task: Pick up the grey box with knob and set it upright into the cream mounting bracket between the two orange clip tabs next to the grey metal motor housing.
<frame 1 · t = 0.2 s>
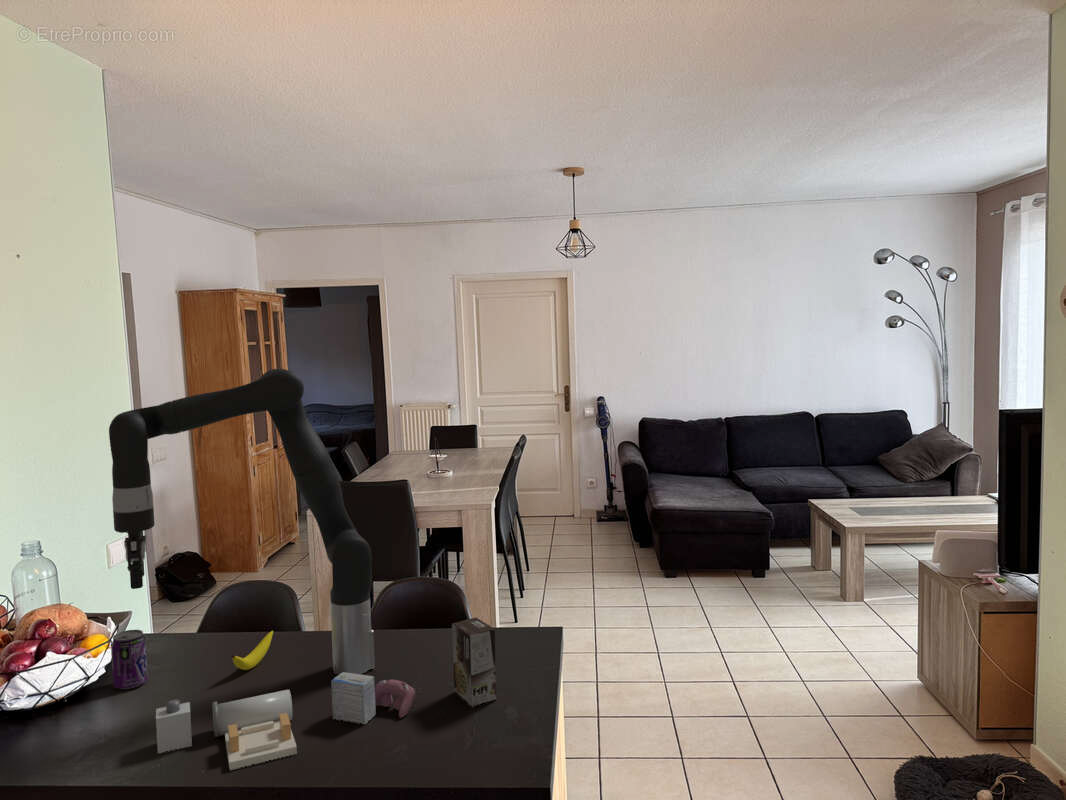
hand: (137, 582, 158), 29 cm above the kitchen counter, tool pointing down, fingers open, 8 cm apart
video game controller: (391, 710, 160), on the kitchen counter
coffee box: (475, 697, 166), on the kitchen counter
banana: (254, 665, 184), on the kitchen counter
grey box with knob: (174, 744, 148), on the kitchen counter
medicine box: (354, 718, 157), on the kitchen counter
beverage can: (130, 685, 174), on the kitchen counter
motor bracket: (260, 746, 146), on the kitchen counter
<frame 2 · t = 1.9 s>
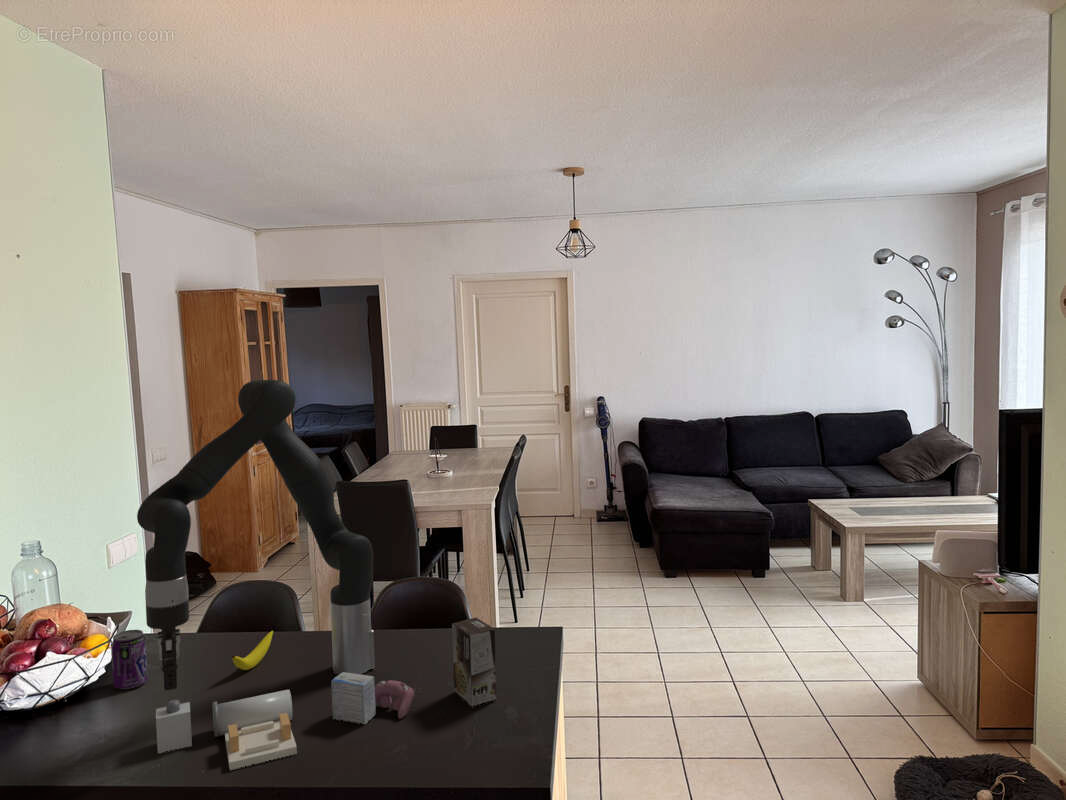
hand: (170, 680, 146), 13 cm above the kitchen counter, tool pointing down, fingers open, 8 cm apart
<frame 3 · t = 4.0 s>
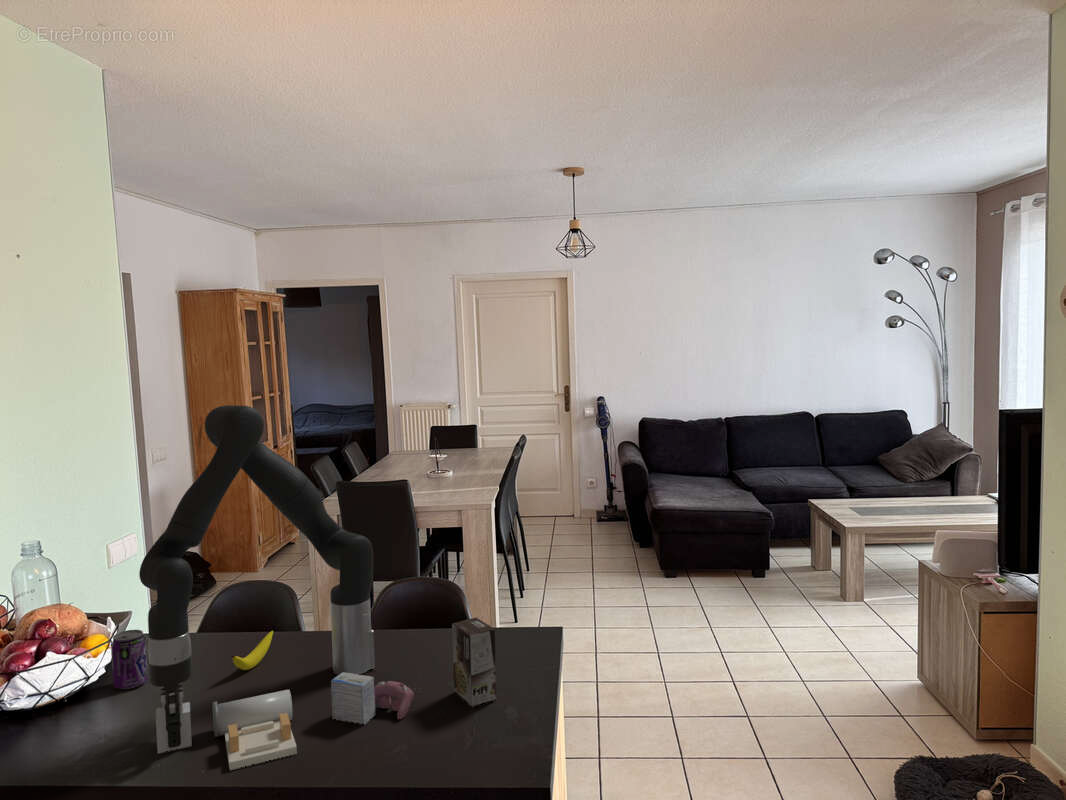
hand: (174, 739, 147), 1 cm above the kitchen counter, tool pointing down, fingers closed on grey box with knob, 4 cm apart
grey box with knob: (174, 744, 147), on the kitchen counter, touching gripper
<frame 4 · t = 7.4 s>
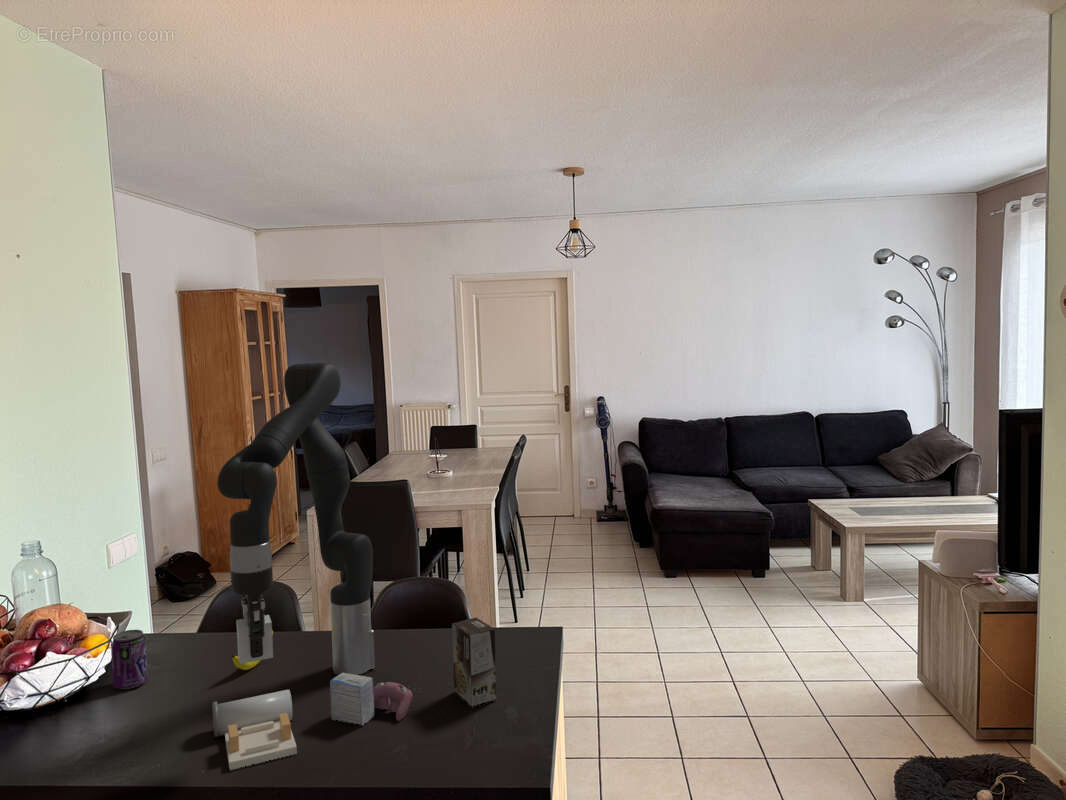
hand: (255, 651, 145), 19 cm above the kitchen counter, tool pointing down, fingers closed on grey box with knob, 4 cm apart
grey box with knob: (255, 656, 145), point 18 cm above the kitchen counter, touching gripper
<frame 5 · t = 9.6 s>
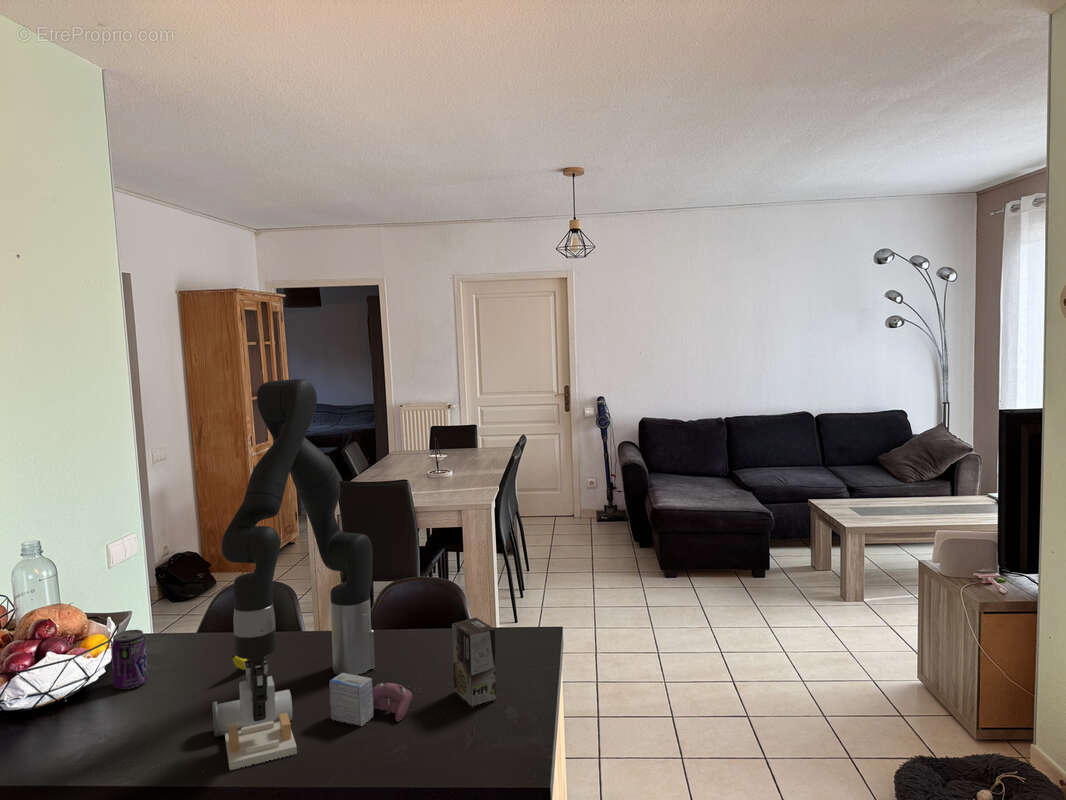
hand: (258, 713, 145), 7 cm above the kitchen counter, tool pointing down, fingers closed on grey box with knob, 4 cm apart
grey box with knob: (258, 718, 145), point 6 cm above the kitchen counter, touching gripper
when the fingers open (4 cm above the kitchen counter, at t = 11.1 s): grey box with knob drops 1 cm, resting on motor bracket.
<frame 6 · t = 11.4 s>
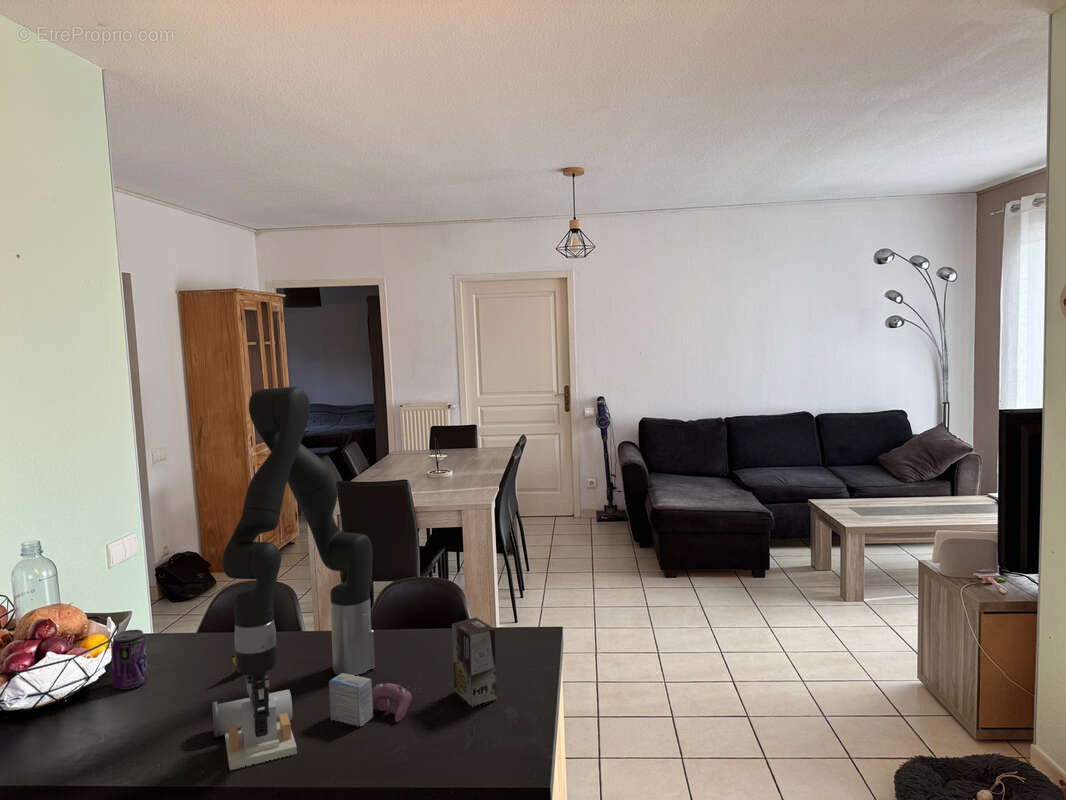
hand: (259, 726, 146), 4 cm above the kitchen counter, tool pointing down, fingers open, 6 cm apart
video game controller: (388, 714, 159), on the kitchen counter, touching medicine box
grey box with knob: (259, 739, 146), point 1 cm above the kitchen counter, touching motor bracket
medicine box: (351, 720, 156), on the kitchen counter, touching video game controller
everything else where it was.
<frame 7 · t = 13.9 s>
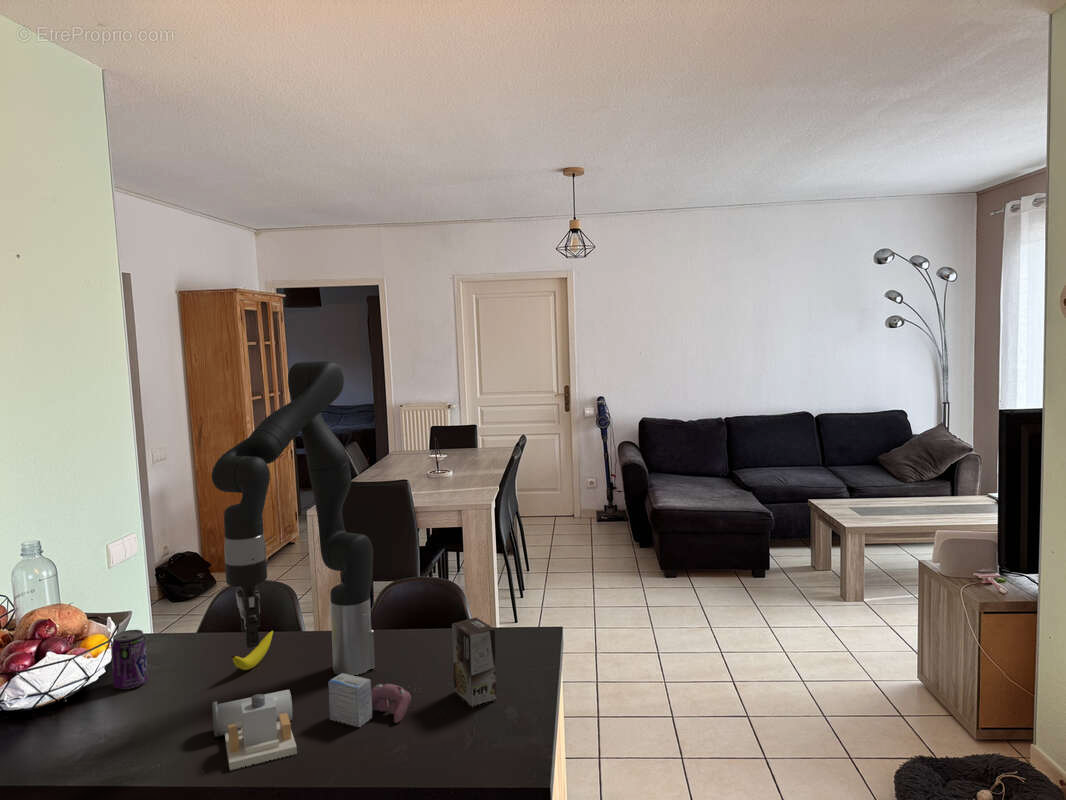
hand: (250, 638, 147), 21 cm above the kitchen counter, tool pointing down, fingers open, 8 cm apart
video game controller: (387, 715, 158), on the kitchen counter
medicine box: (351, 720, 156), on the kitchen counter
everything else where it was.
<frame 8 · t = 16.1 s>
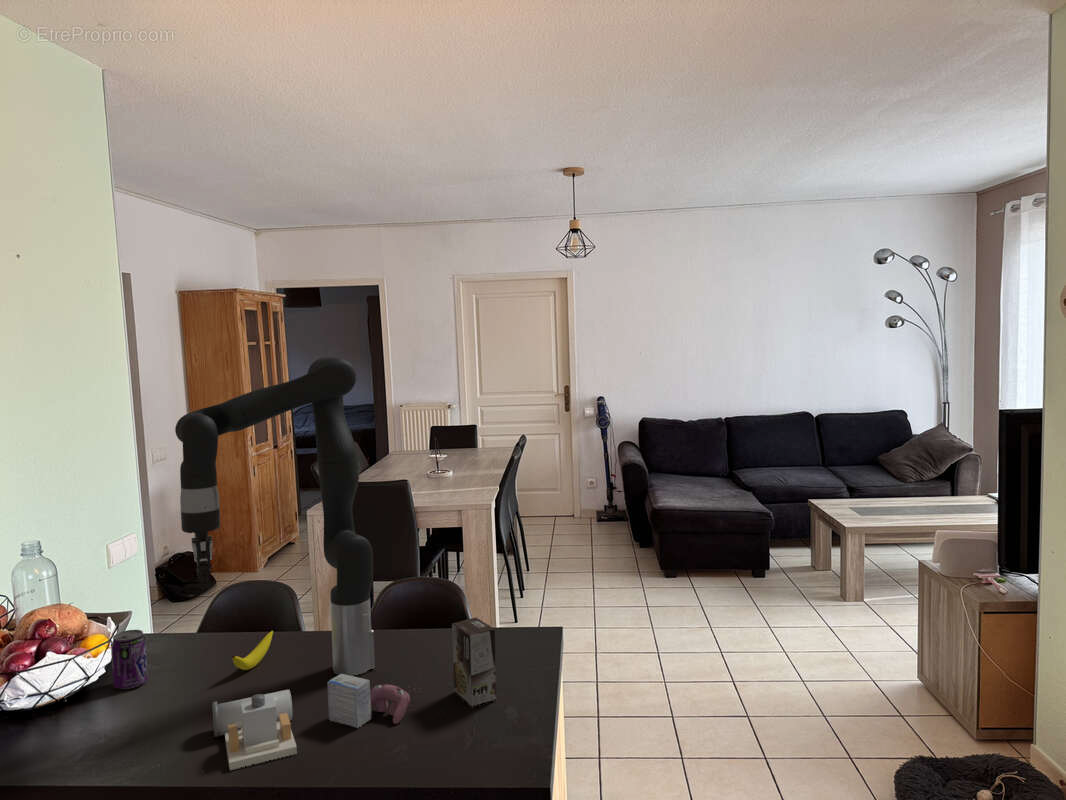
hand: (204, 582, 159), 28 cm above the kitchen counter, tool pointing down, fingers open, 8 cm apart
video game controller: (386, 716, 158), on the kitchen counter, touching medicine box
medicine box: (350, 721, 156), on the kitchen counter, touching video game controller
everything else where it was.
at the end: grey box with knob 0.0 cm off-centre on the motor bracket, point 1.5 cm above the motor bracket's base; grey box with knob tilted 0°; the gripper is holding nothing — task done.
